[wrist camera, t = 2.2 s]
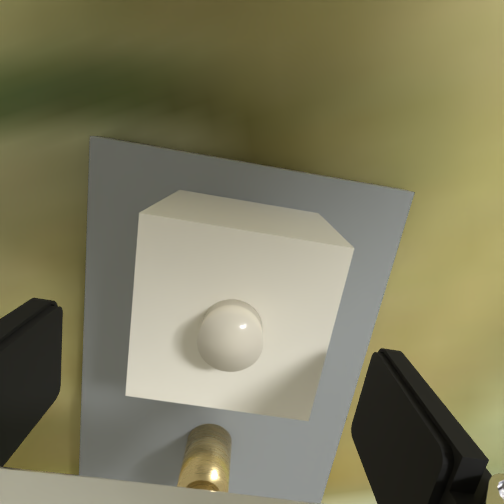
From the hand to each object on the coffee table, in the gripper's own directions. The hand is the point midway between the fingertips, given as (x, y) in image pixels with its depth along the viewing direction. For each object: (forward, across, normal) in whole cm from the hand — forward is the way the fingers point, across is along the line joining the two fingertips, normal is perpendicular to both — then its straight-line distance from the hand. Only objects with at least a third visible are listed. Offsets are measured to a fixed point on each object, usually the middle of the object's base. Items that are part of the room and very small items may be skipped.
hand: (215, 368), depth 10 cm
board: (+9, 0, +5) cm, 10 cm away
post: (+8, 0, +10) cm, 13 cm away
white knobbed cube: (+7, 0, -1) cm, 7 cm away
